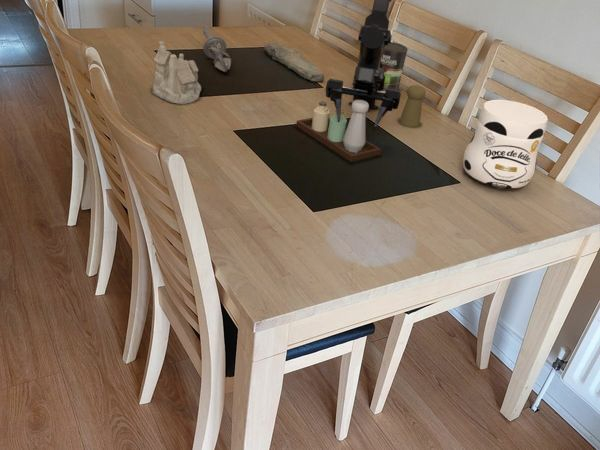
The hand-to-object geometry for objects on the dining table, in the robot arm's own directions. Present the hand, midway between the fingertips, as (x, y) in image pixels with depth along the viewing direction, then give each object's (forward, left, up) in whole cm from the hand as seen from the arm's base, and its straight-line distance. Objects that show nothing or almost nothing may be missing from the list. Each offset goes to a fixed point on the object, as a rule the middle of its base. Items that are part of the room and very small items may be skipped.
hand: (356, 124), depth 149 cm
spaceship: (-3, -77, -8) cm, 77 cm away
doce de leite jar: (-25, +26, -8) cm, 37 cm away
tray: (-1, -7, -8) cm, 11 cm away
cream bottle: (-1, -15, -7) cm, 17 cm away
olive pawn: (-30, -9, -8) cm, 33 cm away
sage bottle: (-1, -8, -7) cm, 11 cm away
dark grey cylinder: (-43, -34, -8) cm, 56 cm away
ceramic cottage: (+22, -53, -8) cm, 58 cm away
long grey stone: (-26, -63, -8) cm, 69 cm away
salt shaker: (-1, -1, -8) cm, 8 cm away
